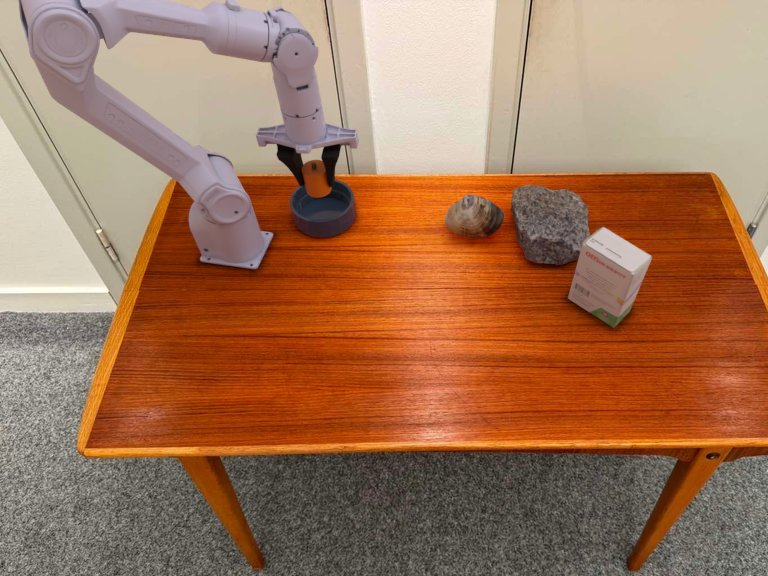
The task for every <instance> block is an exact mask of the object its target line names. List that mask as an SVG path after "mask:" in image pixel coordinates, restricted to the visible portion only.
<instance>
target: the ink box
mask: <svg viewBox="0 0 768 576" xmlns="http://www.w3.org/2000/svg"><path fill="white" fill-rule="evenodd" d="M652 259H653V256H652V255H651V254H649V253H648V252H647V251H644V250H643V249H641V248H639V247H637V246H636V245H634V244H632V243H631V242H629V241H628V240H626V239H624V237H621V236H619V235H618V234H616V233H614V232H613V231H611V230H610V229H609V228H606V227H605V226H601V227H600V228H599V229H597V230H596V231H595V232H593V233H592V234H590V237H589V238H588V239H586V240H585V241H584V242H583V244H582V248H581V252H580V256H579V258H578V259H577V264H576V267H575V270H574V275H573V278H572V282H571V285H570V288H569V291H568V295H567V299H568V300H569V301H570V302H572V303H574V304H576V305H577V306H579V307H580V308H581V309H583V310H585V311H586V312H588V313H589V314H590V315H593V317H596V318H597V319H599V320H600V321H601V322H603V323H604V324H606V325H608V326H609V327H611V328H612V329H615V328H616V327H617V326H618V325H619V324H620V322H622V321H623V319H624V318H625V317H627V315H628V314H629V313H630V312H631V309H632V307H633V305H634V302H635V300H636V298H637V295H638V293H639V292H640V291H639V290H640V288H641V286H642V283H643V280H644V278H645V276H646V274H647V272H648V269H649V266H650V265H651V262H652Z"/></svg>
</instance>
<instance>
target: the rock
mask: <svg viewBox="0 0 768 576" xmlns="http://www.w3.org/2000/svg"><path fill="white" fill-rule="evenodd" d="M511 193H512V196H511V199H510V200H511V201H510V204H511V207H510V212H511V216H512V218H513V221H514V222H513V223H514V228H515V234H516V240H517V243H518V245H519V247H520V248H521V249H522V251H523V252H522V253H523V254H524V258H525V259H526V260H527V261H530V262H531V263H535V264H544V265H547V264H549V265H556V266H560V265H561V266H562V265H564V264H565V265H566V264H568V262H574V261H577V260H578V259H579V256H580V252H581V248H582V244H583V242H584V241H585V240H586V239H588V238H589V237H590V236H591V232H590V227H589V217H590V216H589V206H588V204H586V203H585V202H584V201H583V200H582V199H583V198H582V197H581V195H580V194H576V193H575V191H572V190H569V189H566V188H565V189H564V188H563V189H549V188H548V187H545V186H544V185H536V184H526V185H521V186H519V187H515V188H514V189H513V190H512V192H511Z"/></svg>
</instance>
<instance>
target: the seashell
mask: <svg viewBox="0 0 768 576" xmlns="http://www.w3.org/2000/svg"><path fill="white" fill-rule="evenodd" d="M504 220H505V212H504V210H502V209H501V208H500V207H499V206H498V205H497V204H495V203H494V202H492V200H490V199H488V198H486V197H483V196H479V195H474V194H467V195H465V196H463V197H461V199H460V200H458V201H456V202H455V203H453V204H452V205H451V206H450V207H449V208H448V210H447V211H446V213H445V216H444V225H445V226H446V227H447V229H448V230H449V231H450V232H452V233H453V234H455V235H457V236H458V237H461V238H465V239H471V240H479V239H483V238H487V237H490V236H492V235H493V234H495V233H496V232H497V231H499V229H500V228H501V226H502V224H503V222H504Z"/></svg>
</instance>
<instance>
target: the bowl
mask: <svg viewBox="0 0 768 576" xmlns="http://www.w3.org/2000/svg"><path fill="white" fill-rule="evenodd" d="M356 205H357V204H356V198H355V193H354V192H353V189H352V188H351V187H350V185H348V184H347V183H345V182H344V181H341V180H338V179H336V178H335V182H334V187H332V189H331V192H330V193H329V194H328V195H326V196H324V197H320V198H315V197H311V196H310V195H308V194H307V192H306V188H305V185H304V186H300V185H299V186H298V187H296V189H294V191H293V192H292V193H291V195H290V198H289V209H290V213H291V216H292V220H293V223H294V226H295V227H296V228H297V229H298V230H299V231H300V232H301V233H302V234H305V235H307V236H310V237H314V238H331V237H336V236H338V235H340V234H342V233H344V232H345V231H347V230H348V229H350V227H351V226H352V225H353V224H354V223H355V221H356V217H357V215H358V214H357V206H356Z"/></svg>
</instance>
